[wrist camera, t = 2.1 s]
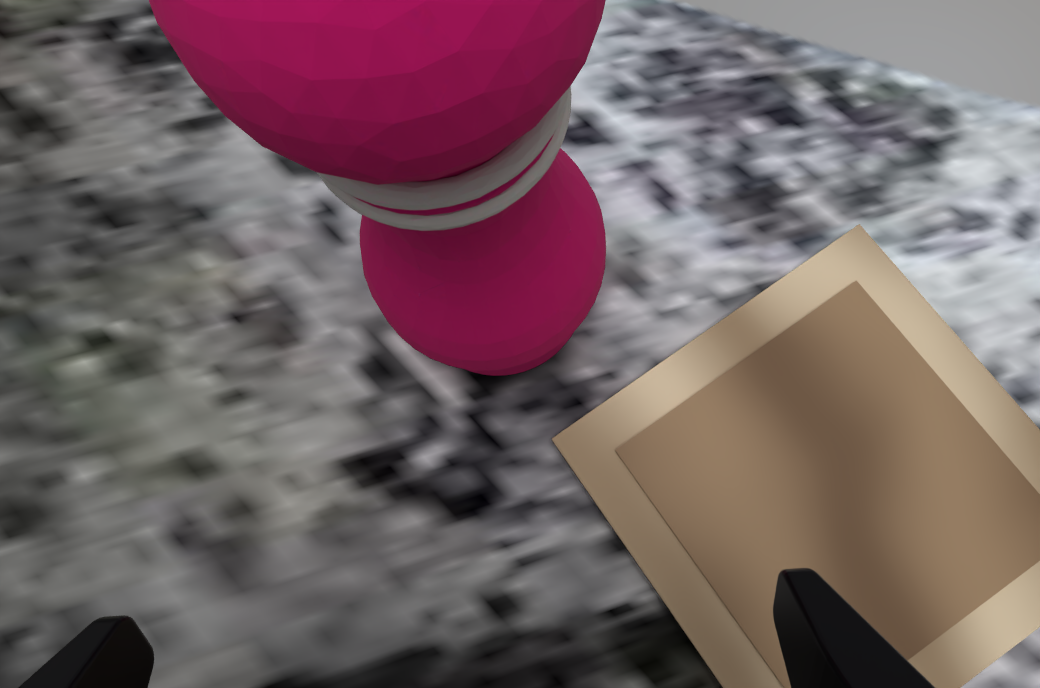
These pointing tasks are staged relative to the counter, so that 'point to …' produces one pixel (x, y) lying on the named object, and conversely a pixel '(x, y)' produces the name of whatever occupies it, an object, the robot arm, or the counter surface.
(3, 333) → the counter surface
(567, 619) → the counter surface
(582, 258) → the pepper mill
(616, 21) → the counter surface
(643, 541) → the beech tray
